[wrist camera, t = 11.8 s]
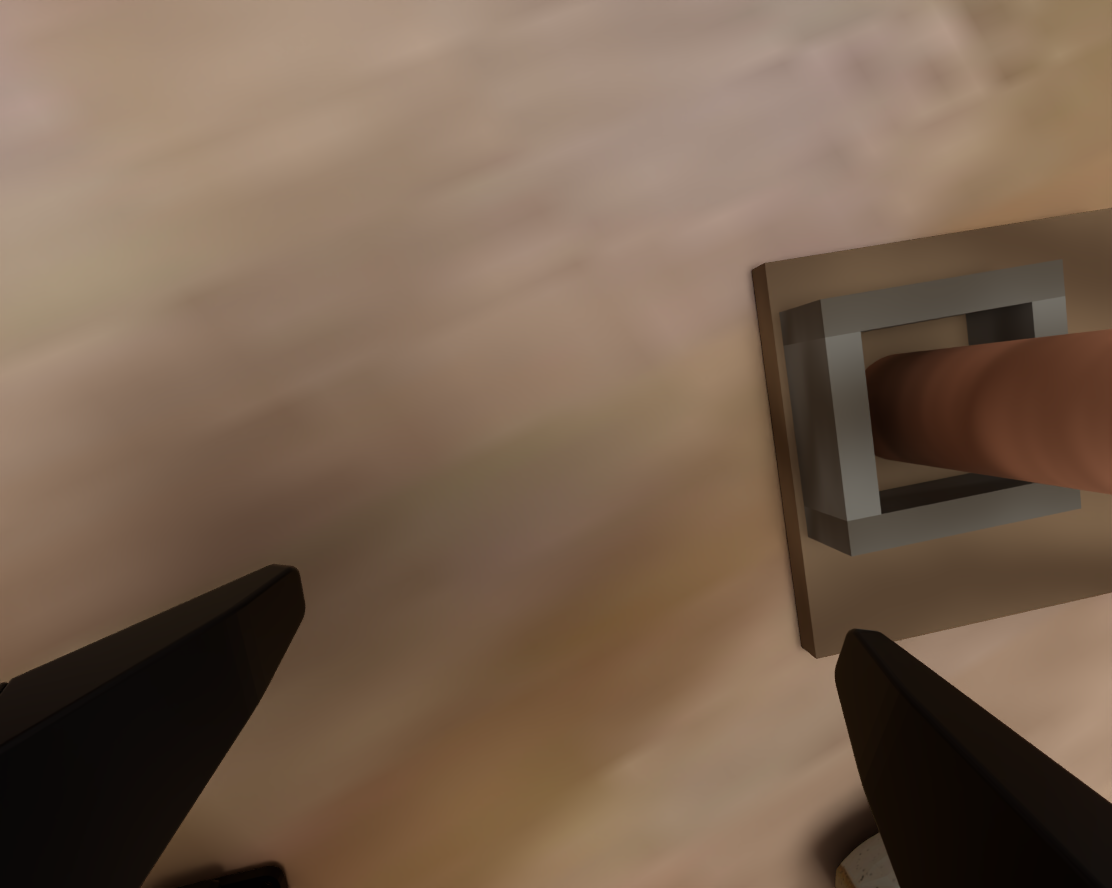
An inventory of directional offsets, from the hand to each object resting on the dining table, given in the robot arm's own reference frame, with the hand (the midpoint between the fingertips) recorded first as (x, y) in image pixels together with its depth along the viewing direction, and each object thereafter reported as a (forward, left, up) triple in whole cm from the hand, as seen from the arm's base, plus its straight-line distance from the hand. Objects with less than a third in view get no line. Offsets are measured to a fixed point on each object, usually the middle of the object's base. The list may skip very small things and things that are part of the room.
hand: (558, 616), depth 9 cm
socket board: (-1, -17, -11) cm, 20 cm away
